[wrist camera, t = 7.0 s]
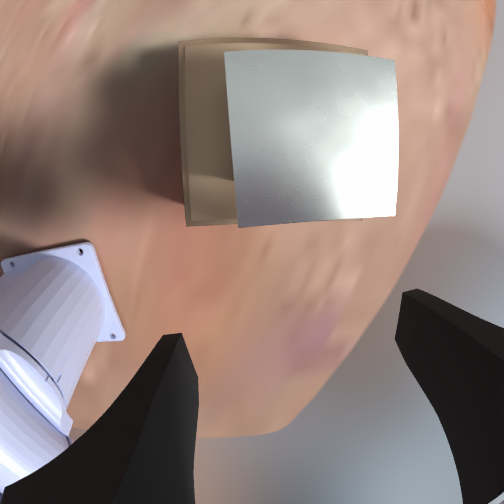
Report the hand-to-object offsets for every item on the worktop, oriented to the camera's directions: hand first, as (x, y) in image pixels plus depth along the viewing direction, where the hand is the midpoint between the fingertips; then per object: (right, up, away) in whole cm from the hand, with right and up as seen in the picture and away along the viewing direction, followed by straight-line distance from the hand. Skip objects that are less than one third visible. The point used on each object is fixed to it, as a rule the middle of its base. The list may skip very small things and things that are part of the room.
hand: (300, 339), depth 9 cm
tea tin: (0, +8, +4) cm, 9 cm away
